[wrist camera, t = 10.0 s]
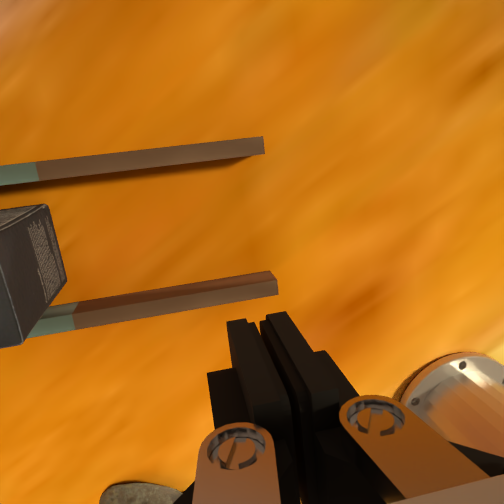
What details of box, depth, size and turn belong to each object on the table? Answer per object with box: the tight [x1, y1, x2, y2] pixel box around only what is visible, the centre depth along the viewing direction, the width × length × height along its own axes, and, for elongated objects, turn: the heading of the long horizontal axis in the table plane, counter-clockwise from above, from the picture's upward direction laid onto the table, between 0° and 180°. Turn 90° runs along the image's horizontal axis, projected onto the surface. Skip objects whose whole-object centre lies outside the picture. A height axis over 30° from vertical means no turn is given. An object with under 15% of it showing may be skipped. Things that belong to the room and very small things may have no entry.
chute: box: [0, 136, 278, 338], centre depth 29 cm, size 12×27×3 cm, turn 96°
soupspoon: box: [99, 483, 183, 504], centre depth 38 cm, size 22×3×7 cm
